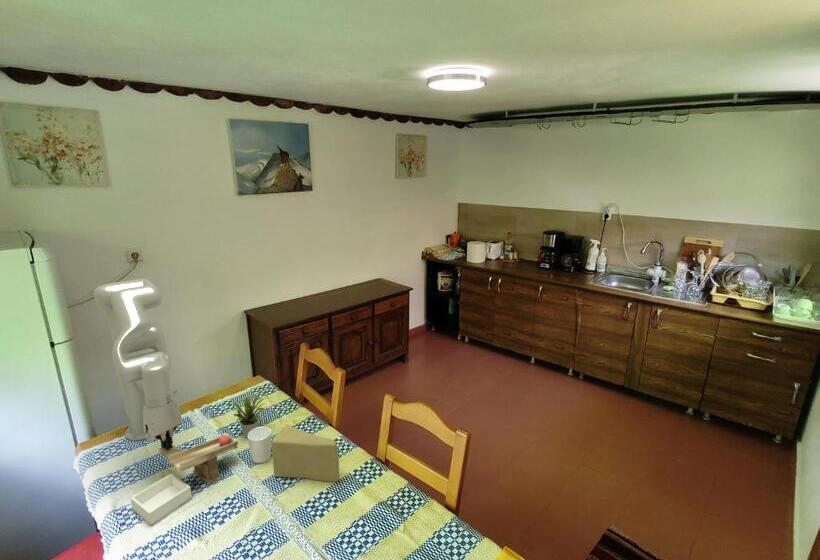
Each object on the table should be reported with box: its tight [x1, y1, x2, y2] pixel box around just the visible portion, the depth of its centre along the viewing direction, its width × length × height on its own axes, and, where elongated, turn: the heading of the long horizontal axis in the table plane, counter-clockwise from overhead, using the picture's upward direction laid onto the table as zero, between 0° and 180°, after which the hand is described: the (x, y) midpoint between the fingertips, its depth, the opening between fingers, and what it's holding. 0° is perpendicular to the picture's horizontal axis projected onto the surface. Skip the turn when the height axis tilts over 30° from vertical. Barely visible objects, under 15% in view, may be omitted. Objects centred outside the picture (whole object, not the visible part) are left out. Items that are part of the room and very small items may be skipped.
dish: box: [130, 473, 193, 527], centre depth 125 cm, size 11×12×4 cm
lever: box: [158, 432, 239, 472], centre depth 138 cm, size 16×20×4 cm
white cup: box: [247, 426, 272, 464], centre depth 146 cm, size 8×8×10 cm
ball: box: [219, 435, 230, 446], centre depth 142 cm, size 4×4×4 cm
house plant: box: [229, 391, 269, 439], centre depth 157 cm, size 14×14×16 cm
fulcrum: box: [192, 455, 222, 485], centre depth 137 cm, size 10×4×9 cm, turn 59°
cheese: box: [271, 424, 340, 483], centre depth 138 cm, size 22×10×15 cm, turn 75°
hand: (167, 447), depth 134 cm, fingers closed
